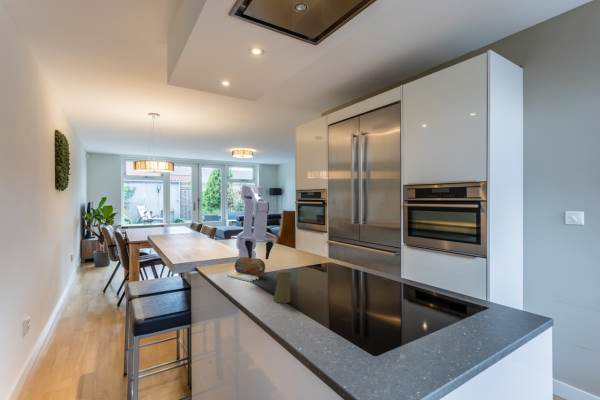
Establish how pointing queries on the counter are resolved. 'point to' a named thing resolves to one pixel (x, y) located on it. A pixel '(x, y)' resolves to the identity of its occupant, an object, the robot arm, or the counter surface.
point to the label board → (243, 276)
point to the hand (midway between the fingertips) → (258, 258)
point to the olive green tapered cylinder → (283, 287)
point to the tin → (250, 266)
